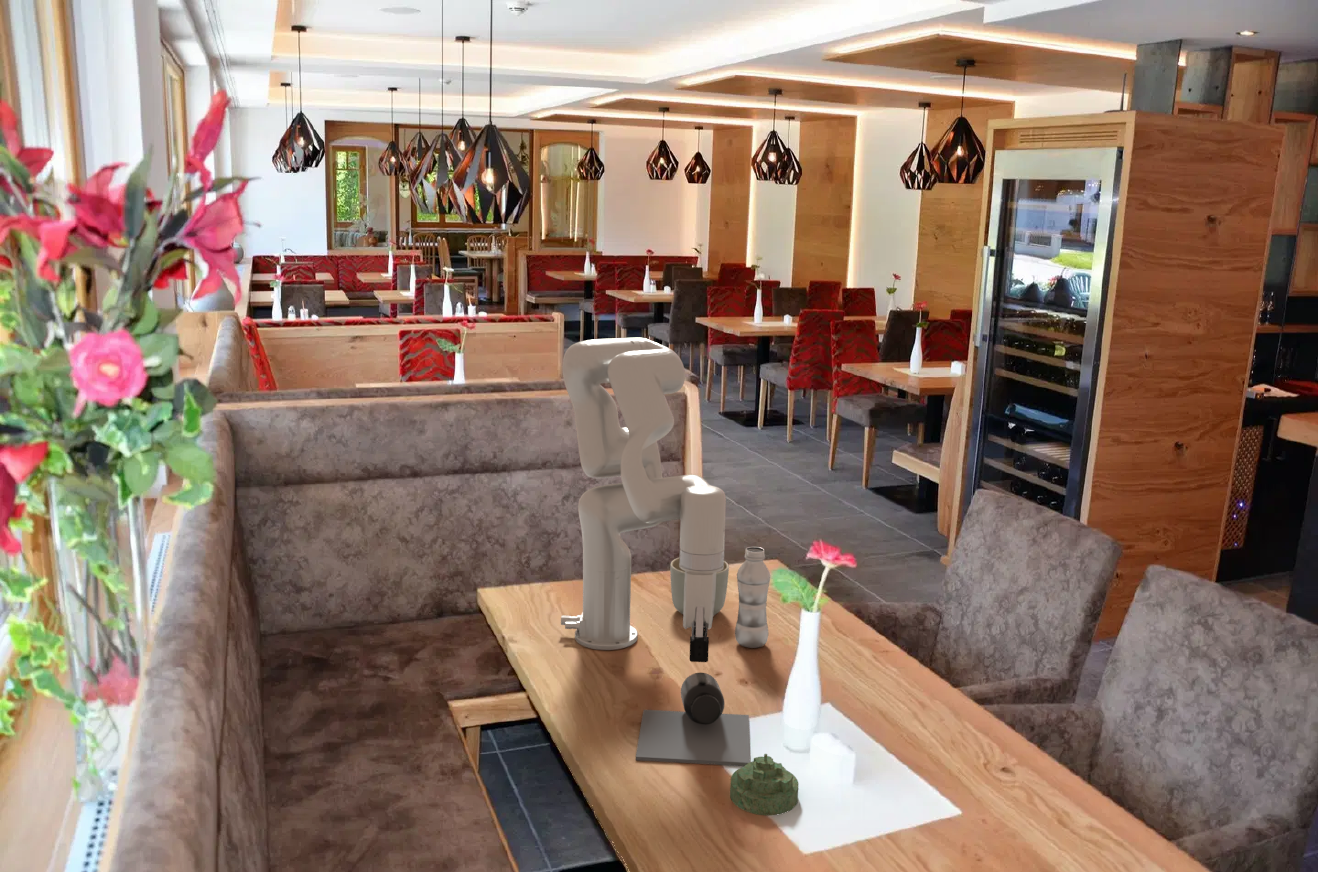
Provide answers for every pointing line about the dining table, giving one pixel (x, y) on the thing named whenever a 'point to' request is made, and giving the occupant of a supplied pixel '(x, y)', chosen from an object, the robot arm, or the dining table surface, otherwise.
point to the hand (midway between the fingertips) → (698, 659)
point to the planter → (678, 586)
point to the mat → (693, 739)
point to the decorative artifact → (764, 787)
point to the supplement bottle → (702, 698)
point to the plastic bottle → (752, 599)
